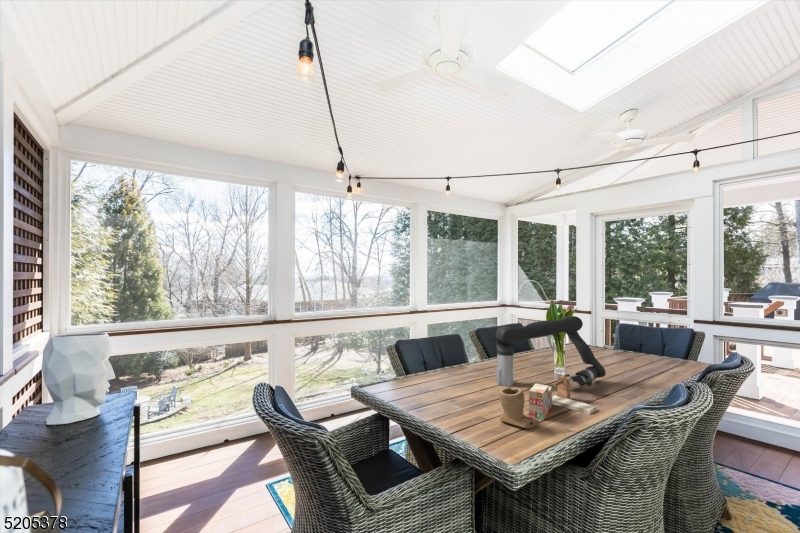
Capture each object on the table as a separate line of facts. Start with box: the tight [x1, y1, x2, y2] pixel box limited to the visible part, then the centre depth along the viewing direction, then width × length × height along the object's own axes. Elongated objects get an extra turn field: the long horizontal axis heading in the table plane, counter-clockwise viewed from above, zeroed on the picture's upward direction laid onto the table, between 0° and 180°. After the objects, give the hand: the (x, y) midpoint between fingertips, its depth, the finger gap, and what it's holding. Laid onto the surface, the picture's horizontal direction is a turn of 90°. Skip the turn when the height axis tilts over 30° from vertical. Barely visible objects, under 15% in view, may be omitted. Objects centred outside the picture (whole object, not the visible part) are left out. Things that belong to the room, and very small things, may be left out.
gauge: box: [555, 375, 571, 400], centre depth 184 cm, size 11×4×12 cm, turn 132°
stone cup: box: [498, 386, 540, 429], centre depth 154 cm, size 15×12×15 cm
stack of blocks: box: [528, 383, 553, 421], centre depth 170 cm, size 21×6×12 cm, turn 147°
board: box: [552, 394, 597, 415], centre depth 176 cm, size 20×8×2 cm, turn 42°
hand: (572, 382), depth 193 cm, fingers open, 8 cm apart
